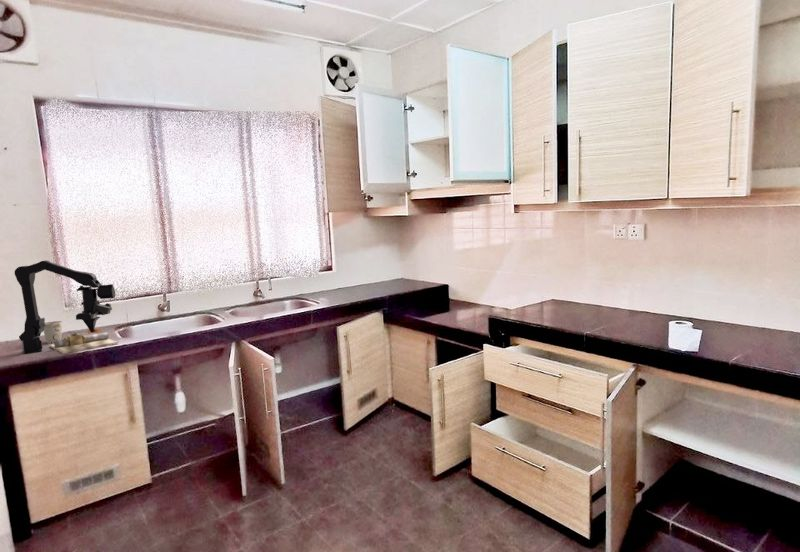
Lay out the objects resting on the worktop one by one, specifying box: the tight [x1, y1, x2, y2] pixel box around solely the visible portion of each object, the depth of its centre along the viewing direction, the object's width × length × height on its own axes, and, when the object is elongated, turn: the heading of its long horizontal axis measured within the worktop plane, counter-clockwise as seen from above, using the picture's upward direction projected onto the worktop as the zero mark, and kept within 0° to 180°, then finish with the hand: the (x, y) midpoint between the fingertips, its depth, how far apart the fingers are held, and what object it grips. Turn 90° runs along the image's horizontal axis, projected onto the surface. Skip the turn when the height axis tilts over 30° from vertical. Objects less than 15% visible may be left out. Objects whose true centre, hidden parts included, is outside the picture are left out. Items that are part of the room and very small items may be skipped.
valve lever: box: [70, 328, 102, 335], centre depth 232 cm, size 13×2×2 cm, turn 93°
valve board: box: [49, 331, 119, 354], centre depth 233 cm, size 22×24×5 cm
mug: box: [43, 320, 63, 344], centre depth 245 cm, size 8×13×10 cm, turn 61°
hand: (92, 332), depth 230 cm, fingers closed
